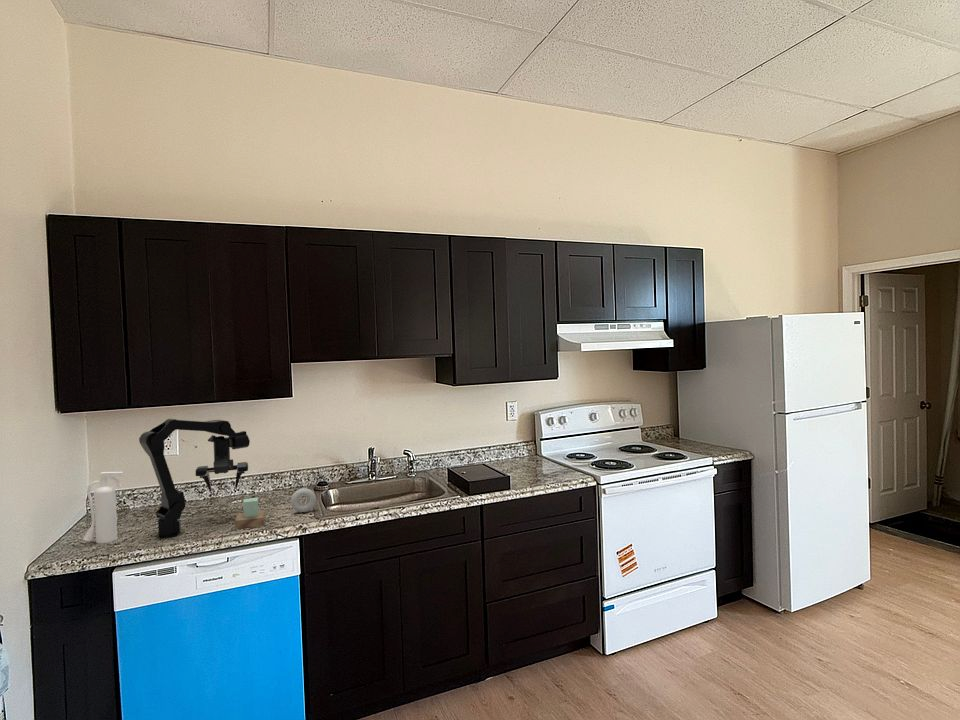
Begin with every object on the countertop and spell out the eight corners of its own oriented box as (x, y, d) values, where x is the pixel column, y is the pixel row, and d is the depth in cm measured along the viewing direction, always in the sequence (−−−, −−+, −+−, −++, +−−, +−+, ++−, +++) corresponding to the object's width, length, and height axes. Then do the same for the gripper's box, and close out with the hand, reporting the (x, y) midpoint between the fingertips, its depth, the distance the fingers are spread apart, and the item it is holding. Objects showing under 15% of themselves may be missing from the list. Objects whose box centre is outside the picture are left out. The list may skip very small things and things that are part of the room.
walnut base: (235, 531, 202) (234, 520, 202) (238, 523, 212) (237, 513, 212) (263, 527, 205) (263, 517, 205) (265, 520, 215) (265, 510, 215)
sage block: (243, 517, 205) (243, 502, 205) (244, 514, 210) (244, 499, 210) (258, 516, 207) (257, 500, 207) (258, 512, 212) (257, 497, 212)
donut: (316, 509, 226) (315, 485, 226) (316, 511, 223) (315, 487, 223) (290, 512, 222) (289, 488, 222) (291, 515, 219) (290, 490, 219)
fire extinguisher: (85, 540, 195) (84, 472, 195) (124, 535, 201) (124, 469, 200) (80, 546, 189) (80, 476, 189) (121, 541, 195) (121, 473, 194)
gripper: (193, 457, 204) (194, 498, 204) (246, 452, 211) (248, 492, 211) (196, 452, 214) (198, 491, 214) (247, 447, 221) (248, 485, 221)
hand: (223, 490), depth 215 cm, fingers open, 9 cm apart
